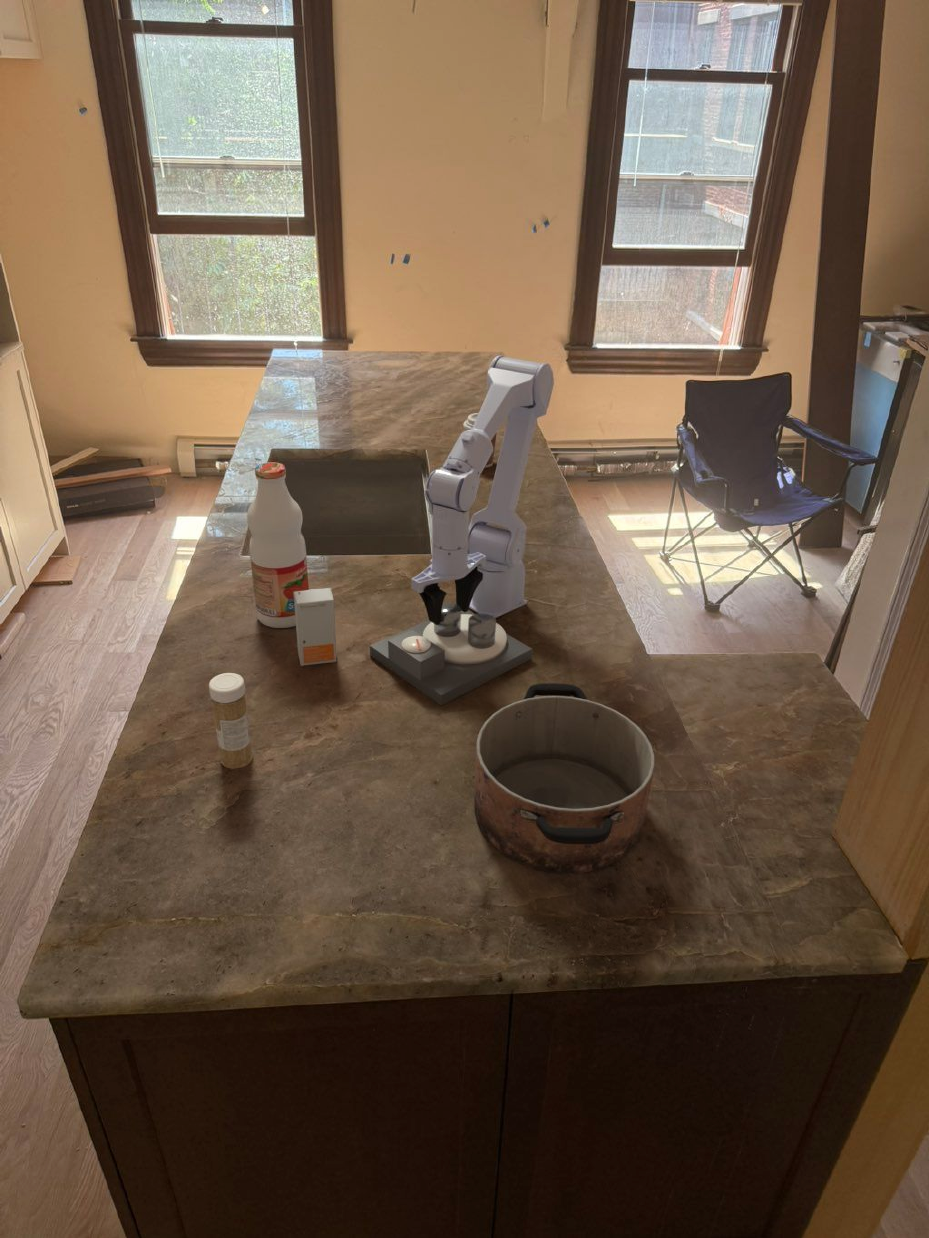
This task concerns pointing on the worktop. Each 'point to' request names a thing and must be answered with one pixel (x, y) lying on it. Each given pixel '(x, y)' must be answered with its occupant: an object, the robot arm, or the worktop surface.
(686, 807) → the worktop surface
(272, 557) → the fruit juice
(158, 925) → the worktop surface
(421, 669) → the kitchen scale
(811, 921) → the worktop surface
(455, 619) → the cylinder
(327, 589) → the skincare box
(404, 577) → the worktop surface
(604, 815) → the cooking pot
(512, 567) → the robot arm
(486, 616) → the cylinder
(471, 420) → the coffee cup
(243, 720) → the sprinkles bottle
